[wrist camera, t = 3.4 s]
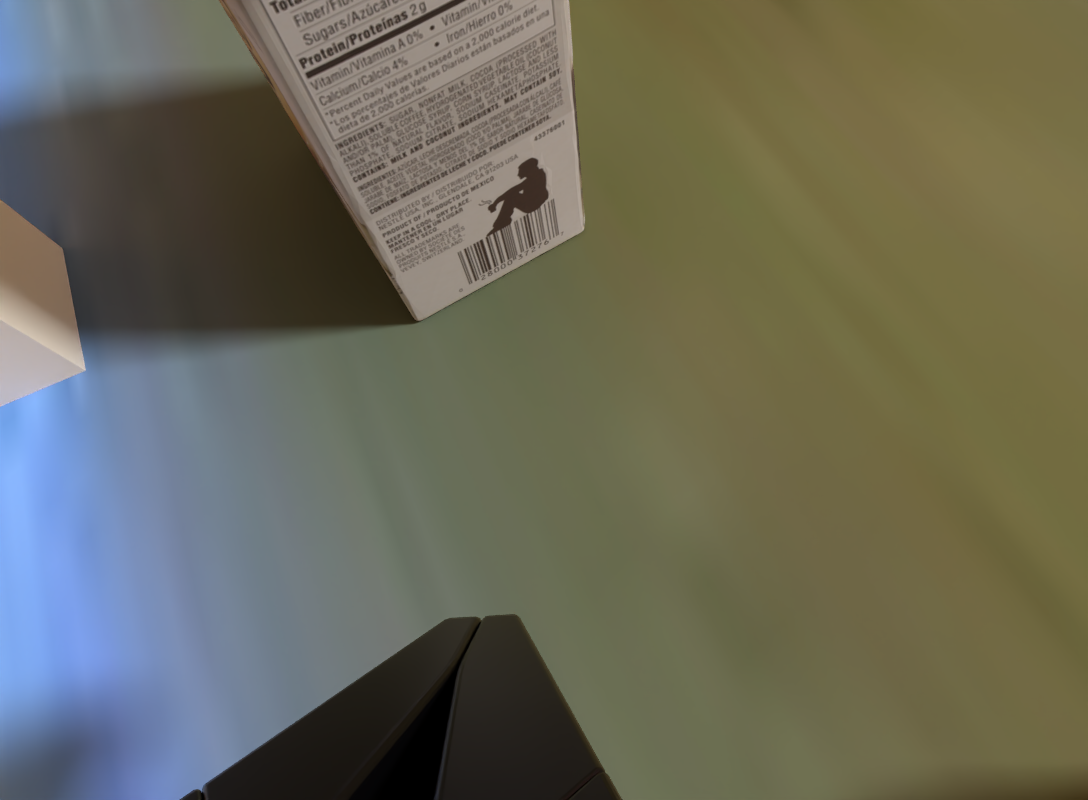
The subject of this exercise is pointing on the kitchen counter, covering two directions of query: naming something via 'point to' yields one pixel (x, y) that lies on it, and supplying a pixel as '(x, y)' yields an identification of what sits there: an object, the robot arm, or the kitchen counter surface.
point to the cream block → (34, 311)
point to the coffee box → (433, 127)
